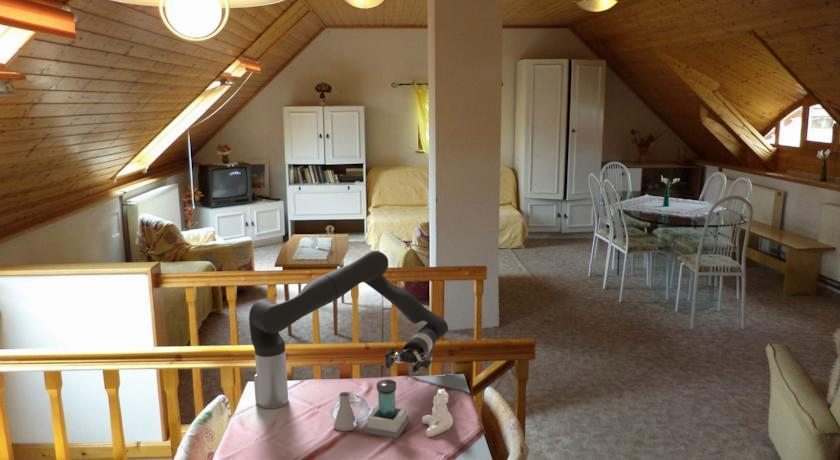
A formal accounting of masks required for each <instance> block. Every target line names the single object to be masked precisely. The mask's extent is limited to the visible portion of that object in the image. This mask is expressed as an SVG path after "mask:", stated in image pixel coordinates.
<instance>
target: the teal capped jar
mask: <svg viewBox="0 0 840 460" xmlns="http://www.w3.org/2000/svg"><path fill="white" fill-rule="evenodd" d="M396 390H397V382H396V381H395V380H393V379H382V380H381V379H380V380H379V381H377V383H376V391H377V392H378V393H377V396H378V398H377V399H378V404H379V417H380V418H386V419H392V420H394V418H395V406H396Z"/></svg>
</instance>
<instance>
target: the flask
mask: <svg viewBox="0 0 840 460" xmlns="http://www.w3.org/2000/svg"><path fill="white" fill-rule="evenodd" d="M338 396H339V398H340V399H339V406H338V407H339V408H338V409H337V413H336V417H335V419H334V422H333V429H334V430H337V431H340V432H348V431H351V432H352V431H353V430H354V429H353V427H354V425H353V422H354V421H355V417H356V415H355V413H354V410H353V408H352V406H351V402H350V396H351V394H350V392H348V391H341V392H340V393H339V394H338ZM354 415H355V416H354Z"/></svg>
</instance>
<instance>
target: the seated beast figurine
mask: <svg viewBox="0 0 840 460" xmlns="http://www.w3.org/2000/svg"><path fill="white" fill-rule="evenodd" d="M433 397H434V398H433V401H432V403H433V406H432V409H431V414H426V415H423V416H422V417H421V423H422V424H423V425H428V426H429V427H428V428H427V429H426V431H425V433H426V436H427V437H428V438H429V437H430V438H431V437H435V436H437V435H439V434H442V433H444V432H447V431H449V429H451V427H452V426H453V424H454V419H453V415H452V414H451V413H450V412H449V410H448V405H447V403H449V397H450V396H449V393H448V392H447V391H446V389H445V388H444V387H443V388H439V389H438V390H437V393H436V395H434V396H433Z"/></svg>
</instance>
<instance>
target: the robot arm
mask: <svg viewBox="0 0 840 460" xmlns="http://www.w3.org/2000/svg"><path fill="white" fill-rule="evenodd" d="M388 269H389V259H388V257H387V255H386V254H385V253H384V252H381V251H378V250H371V251H369V252H367V253H365V254H364V255H363V256H361V257H360V258H358V259H356V260H355V261H353V262H351V263H349V264H346V265H344V266H342V267H338V268H336V269H334V270H332V271H329V272H327V273H324V274H322V275H320V276H317V277H316V278H314V279H312V280H310V281H309V282H307V284H306V285H304V287H303V288H302V289H301V291H300V292H299V293H298V294H297V295H296V296H294V297H293V298H290V299H287V300H285V301H283V302H280V303H277V302H274V301H272V300H270V299H264V298H263V299H259V300H257V301H255V302H254V303H253V304H252V306H251V307H250V310H249V314H248V325H249V330H250V331H249V332H250V340H251V341H250V342H251V343H252V346H253V348H254V357H255V358H254V359H255V371H256V372H255V373H256V374H255V375H253V384H254V396H255V405H258V406H259V407H261V408H263V409H269V410H270V409H278V408H281V407H283V406H285V405H286V404H288V402H289V390H288V389H289V387H288V386H289V385H288V373H287V371H288V369H287V358H286V357H287V355H286V343H285V340H284V339H283V337H282V336H281V335H280V332H281V331H284V330H285V329H286V328H288V327H290V326H291V325H293V324H294V323H295V322H298V320H300V319H301V318H303V317H305V316H307V315H309V314H311V313H313V312H314V311H317V310H319V309H320V308H322V307H325V306H327V305H329V304H330V303H332V302H335V301H337V300H338V299H340V298H341V297H342V296H344V295H346V294H347V293H348V292H350V291H351V290H352V289H354V288H356V286H358V285H359V284H361V283H364V284H366V285H367V286H369V287H370V288H372V289H373V290H374V291H375V292H376V293H378V294H379V295H381V296H382V297H383V298H384V299H386V300H388V302H390V303H391V304H392V305H394V307H395V308H397V309H398V310H399V311H400V313H402V315H404V317H406V319H408V320H409V322H411V324H414V325H416V324H418V323H421V322H426V323H425V324H424V325H423V326H422V327H421V328H420V329H419V330H418V331H417V333H416V334H415V335H413V336H412V337H411V338H410V339H409V340H408V341H407V342H406V343H405V345H404V346H403V348H402V349H401V350H398V351H397V350H396V348H391V349H389V351H387V352H386V353H385V354H384V362H385V367H386V369H391V367H392V366H393V365H394V364H399V365H400V364H404V363H409V364H413V365H412V372H413V373H416V372H418V371H419V370H420V369H422V368H425V369H428V368H429V367H430V366H431V364H432V362H433V353H430V352H431V350H432V349H433V347H434V346H435V345H436V343H437V342H438V341H439V340H440V339H441V338H443V336H445V335H446V334H447V333H448V331H449V325H448V323H447V322H446V320H445V319H444V318H443V317H442V316H439V315H438V314H436V313H435V312H433V311H431V309H430V310H429V309H428V308H426V306H424V304H422V303H421V301H419V300H418V299H417V298H416V297H415V296H414V295H413V294H411V293H410V292H409V291H406V290H405V289H403V288H401V287H398V286H397V285H395V284H393V283H392V282H390V280H389V279H387V278H386V277H385V276H384V274H385V273H386V272H387V270H388Z"/></svg>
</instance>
